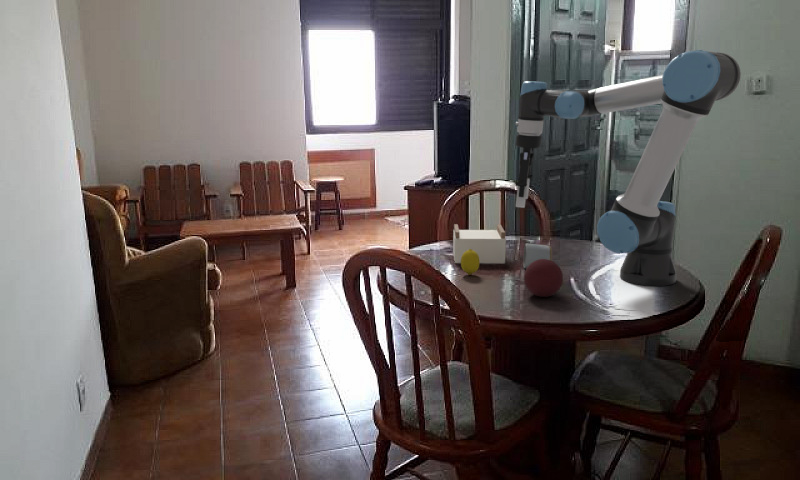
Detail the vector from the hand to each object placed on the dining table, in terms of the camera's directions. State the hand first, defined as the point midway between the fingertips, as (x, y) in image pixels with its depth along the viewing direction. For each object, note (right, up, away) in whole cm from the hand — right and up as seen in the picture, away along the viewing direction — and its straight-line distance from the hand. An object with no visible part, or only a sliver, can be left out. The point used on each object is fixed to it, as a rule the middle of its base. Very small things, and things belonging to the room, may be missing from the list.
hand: (521, 202), depth 196 cm
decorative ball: (0, -27, -29) cm, 39 cm away
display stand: (-12, -18, +12) cm, 24 cm away
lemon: (-17, -22, -8) cm, 29 cm away
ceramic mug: (+4, -20, +1) cm, 21 cm away
